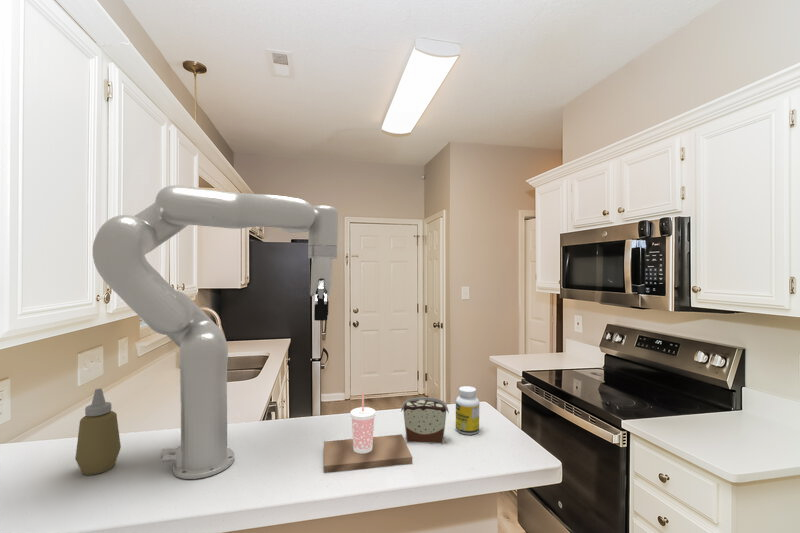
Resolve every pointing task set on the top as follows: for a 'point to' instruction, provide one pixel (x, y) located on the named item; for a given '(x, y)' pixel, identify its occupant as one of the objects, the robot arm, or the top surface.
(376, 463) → the walnut board
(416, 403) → the food container
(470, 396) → the pill bottle
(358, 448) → the beverage cup
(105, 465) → the squeeze bottle
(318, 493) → the top surface
